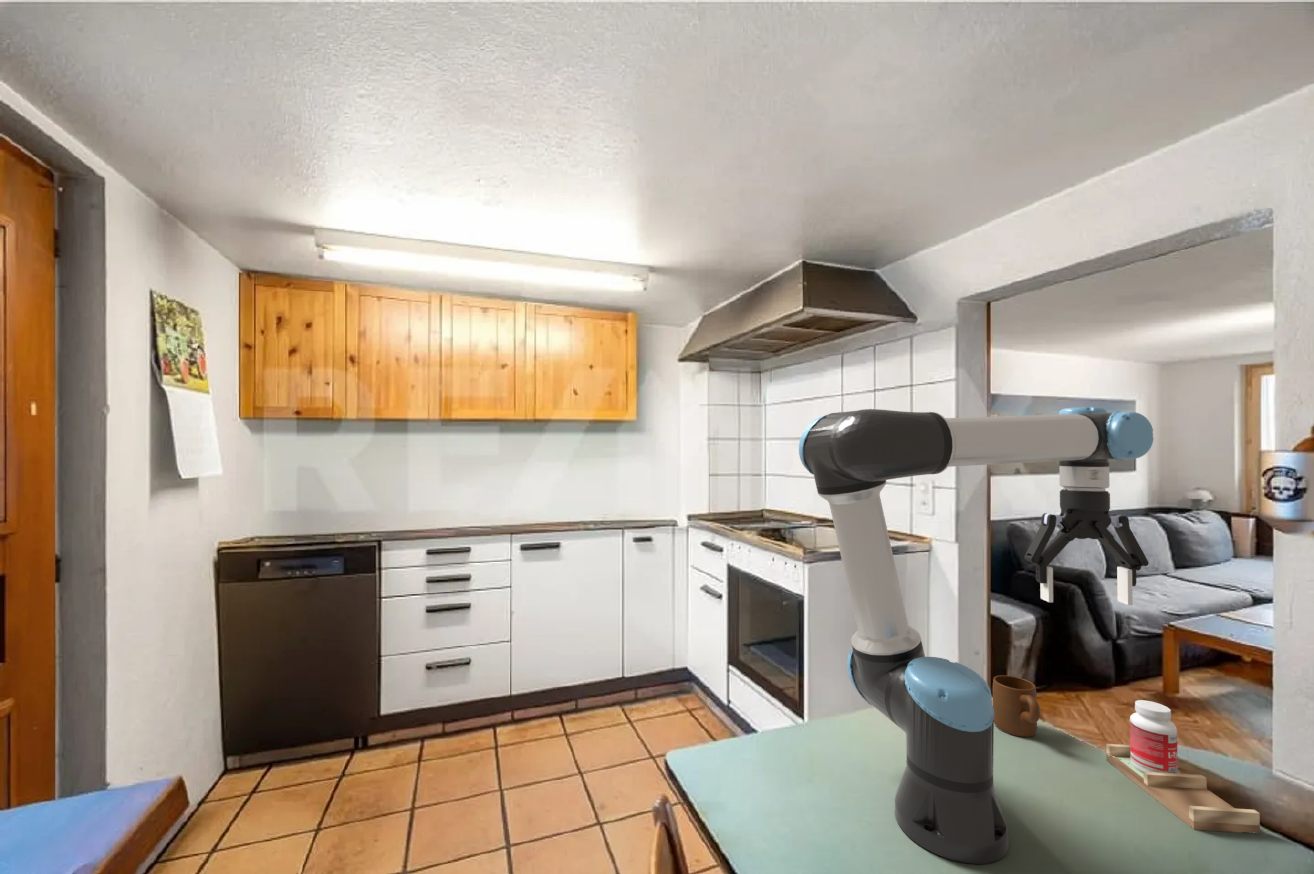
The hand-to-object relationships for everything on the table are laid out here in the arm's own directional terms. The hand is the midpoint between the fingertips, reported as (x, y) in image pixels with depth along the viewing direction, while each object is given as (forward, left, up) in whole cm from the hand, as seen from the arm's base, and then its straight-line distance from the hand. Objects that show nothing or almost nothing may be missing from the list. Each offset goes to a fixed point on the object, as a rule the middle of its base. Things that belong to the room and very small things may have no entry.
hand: (1085, 602), depth 103 cm
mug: (-8, +7, -29) cm, 31 cm away
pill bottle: (+7, -6, -27) cm, 29 cm away
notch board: (+7, -11, -28) cm, 31 cm away
